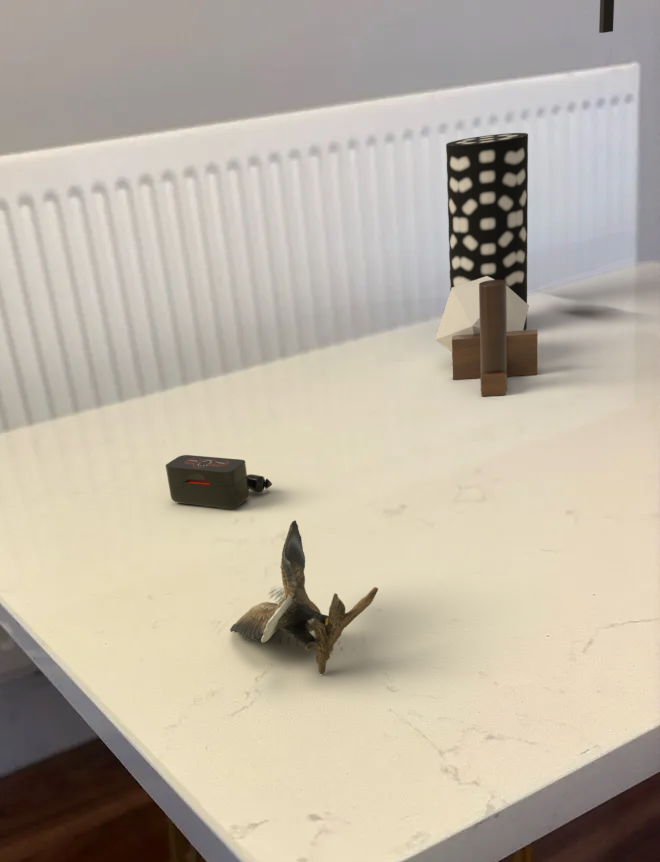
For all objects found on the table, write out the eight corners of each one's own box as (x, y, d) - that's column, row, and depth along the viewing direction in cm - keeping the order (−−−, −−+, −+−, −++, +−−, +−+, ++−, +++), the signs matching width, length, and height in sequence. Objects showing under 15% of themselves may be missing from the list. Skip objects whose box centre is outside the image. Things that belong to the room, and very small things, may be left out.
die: (540, 372, 102) (550, 277, 103) (475, 346, 98) (485, 247, 99) (478, 390, 110) (487, 301, 111) (415, 367, 105) (425, 274, 106)
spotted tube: (525, 317, 119) (526, 130, 110) (528, 335, 112) (529, 137, 103) (452, 323, 122) (447, 140, 112) (450, 341, 115) (444, 148, 105)
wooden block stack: (538, 393, 95) (539, 282, 90) (449, 398, 97) (446, 290, 92) (536, 369, 101) (537, 265, 97) (453, 375, 103) (450, 273, 99)
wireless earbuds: (243, 513, 79) (238, 473, 78) (168, 504, 83) (162, 466, 81) (273, 490, 82) (269, 452, 81) (199, 483, 86) (194, 446, 85)
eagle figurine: (408, 625, 58) (323, 549, 65) (354, 559, 53) (267, 484, 60) (312, 718, 59) (236, 633, 65) (249, 661, 54) (174, 575, 60)
